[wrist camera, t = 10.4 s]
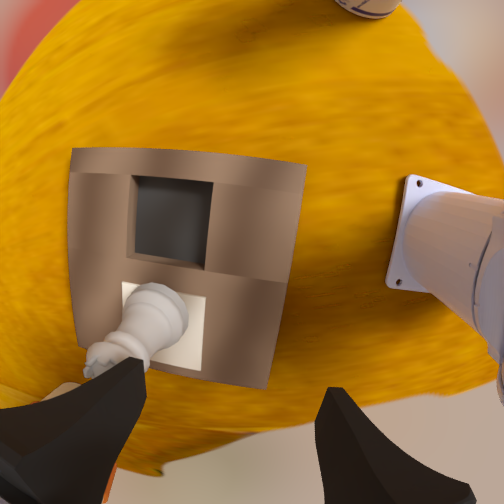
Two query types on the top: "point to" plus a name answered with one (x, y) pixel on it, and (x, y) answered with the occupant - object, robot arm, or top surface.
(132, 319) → the rook chess piece
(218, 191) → the hole board
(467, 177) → the top surface
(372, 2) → the energy drink
